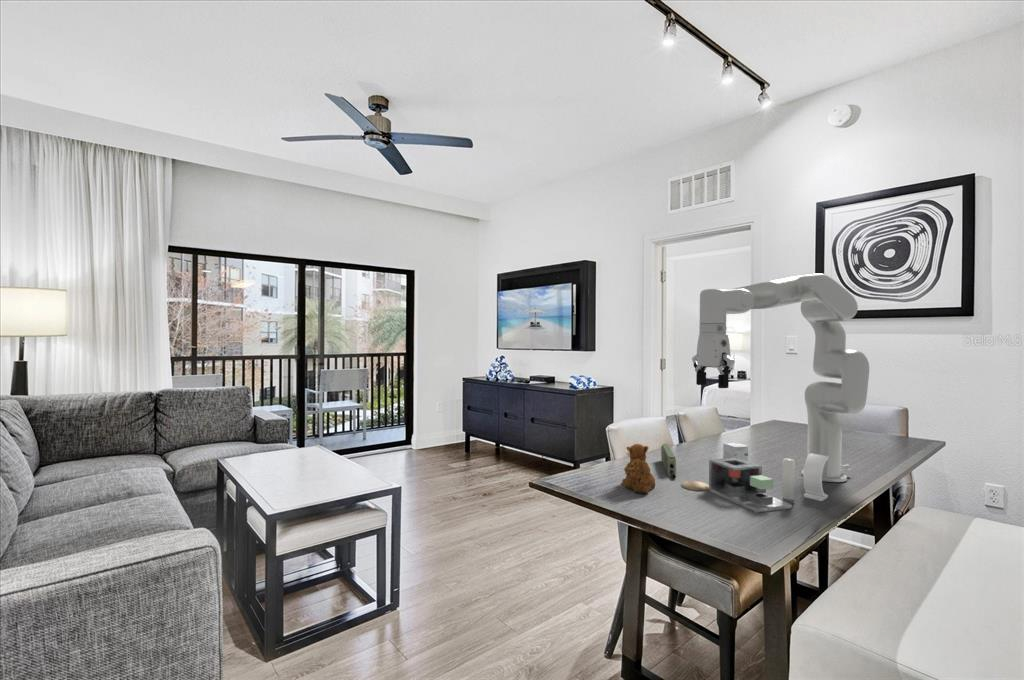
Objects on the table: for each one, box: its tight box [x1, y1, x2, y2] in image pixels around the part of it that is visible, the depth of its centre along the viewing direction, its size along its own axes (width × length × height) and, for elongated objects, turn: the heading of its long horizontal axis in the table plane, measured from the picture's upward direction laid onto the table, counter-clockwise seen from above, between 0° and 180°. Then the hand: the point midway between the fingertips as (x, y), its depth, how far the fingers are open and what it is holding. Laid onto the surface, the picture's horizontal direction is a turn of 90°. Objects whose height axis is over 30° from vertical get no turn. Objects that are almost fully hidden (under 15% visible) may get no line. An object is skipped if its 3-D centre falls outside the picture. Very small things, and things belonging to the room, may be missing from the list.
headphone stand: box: [802, 453, 829, 502], centre depth 141 cm, size 5×6×12 cm
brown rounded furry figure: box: [621, 443, 656, 494], centre depth 148 cm, size 10×14×13 cm
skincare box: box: [722, 442, 749, 461], centre depth 177 cm, size 6×6×7 cm
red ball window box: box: [705, 458, 793, 514], centre depth 140 cm, size 12×20×9 cm, turn 17°
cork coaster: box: [681, 480, 709, 492], centre depth 150 cm, size 8×8×1 cm
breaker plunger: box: [729, 469, 741, 482], centre depth 144 cm, size 3×3×4 cm
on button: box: [750, 475, 774, 494], centre depth 135 cm, size 4×4×4 cm
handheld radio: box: [660, 443, 677, 480], centre depth 170 cm, size 7×3×25 cm
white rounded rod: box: [782, 457, 796, 505], centre depth 137 cm, size 3×3×12 cm
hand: (711, 386), depth 148 cm, fingers open, 9 cm apart
